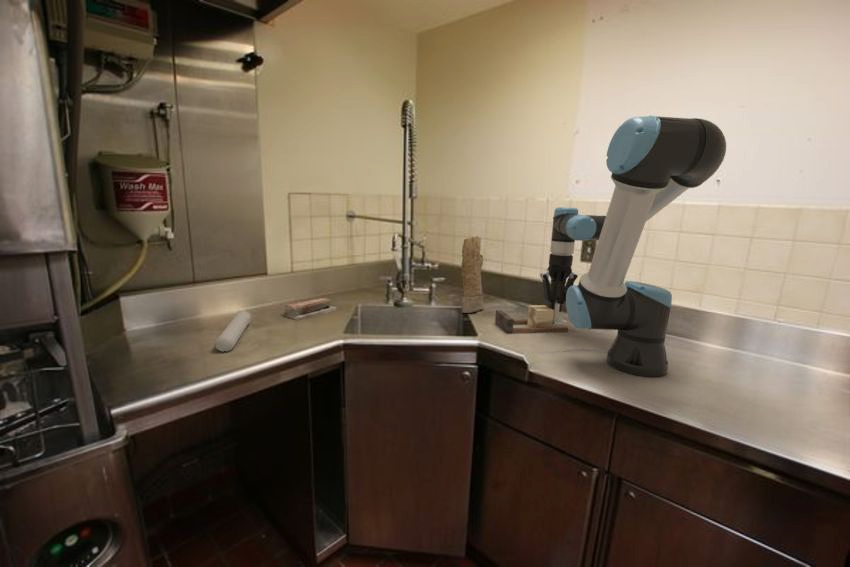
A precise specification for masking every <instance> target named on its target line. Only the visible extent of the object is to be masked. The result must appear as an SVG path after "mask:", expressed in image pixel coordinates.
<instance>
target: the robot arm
mask: <svg viewBox="0 0 850 567" xmlns="http://www.w3.org/2000/svg"><path fill="white" fill-rule="evenodd" d="M726 151H727V141H726V136H725V135H724V133H723V130H721V128H720V127H719V126H718V125H717V124H716V123H713V122H712V121H710V120H707V119H704V118H703V119H702V118H694V117H693V118H688V117H687V118H685V117H673V116H672V117H671V116H655V115H647V116H646V115H645V116H633V117H630V118H628V119H627V120H625V121H624V122H623V123H622V124H620V125H619V126H618V128H617V129H616V130H615V132H614V134H613V135H612V137H611V139H610V142H609V145H608V147H607V151H606V157H607V159H606V161H605V162H606V167H607V170H608V171H610V172H611V174H610V179H611V180H612V182H613V184H614V186H615V187H614V188H613V193H612V197H611V199H610V203H609V204H608V205H609V206H608V209H607V212H606V215H591V214H589V215H588V214H579V208H577V207H568V206H567V207H566V206H565V207H562V206H561V207H560V206H557V207H556V208H555V209H554V213H553V218H552V220H553V221H552V228H551V229H552V231H551V238H550V239H551V240H550V249H549V252H550V254H549V257H548V267H547V269H546V271H545V272H544V273H540V278H541V280H542V287H543V288H542V289H543V293H544V294H543V295H544V300H545V301H547V302H549V306H548V307H549V308H551V309H552V310H554V315H553V322H554V323H558V322H559V314H560V313H561V312H562V307H563V304H565V307H566V313H567V316H568V319H569V321H570V323H571V325H572V326H573V327H574V328H577V329H581V330H583V329H584V330H588V331H590V330H608V331H609V330H611V331H614V330H615V331H617V332H616V336H615V338H614V341H613V342H612V344H611V346H610V348H609V349H608V351H607V354H606V363H608V364H609V366H612V367H613V368H614V369H617V370H618V371H620V372H621V371H622V372H624V373H628V374H632V375H636V376H640V377H641V376H642V377H649V378H650V377H651V378H653V377H654V378H655V377H662V376H665V375H667V373H668V368H669V362H668V360H667V359H668V357H667V352H666V345H665V341H666V336H667V332H668V331H667V330H668V324H669V319H670V313H671V309H672V308H673V307H672V301H673V294H672V292H671V291H670V290H668V289H666V288H663V287H660V286H658V285H657V286H656V285H654V284H653V285H652V284H648V283H645V282H639V281H632V280H627V281H625V279H626V276H627V274H628V271H629V268H630V265H631V263H632V260H633V258H634V255H635V251H636V249H637V246H638V244H639V241H640V238H641V236H642V233H643V230H644V228H645V224H646V223H647V222H648V221H650V219H651V218H653V217H654V216H655V215H656V214H658V213H659V212H660V211H662V210H663V209H664V208H666V207H667V206H668V205H669V204H671V203H672V202H674V201H675V200H676V199H677V198H678V197H680V196H681V195H682V194H683V193H685V192H686V191H687V190H689V189H694V188H697V187H699V186H701V185H702V184H703V183H705V182H707V181H708V179H710V178H711V177H712V176H714V174H715V173H716V172H717V171H718V170H719V168H720V166H721V165H722V163H723V162H724V159H725V157H726V153H727V152H726ZM576 241H577V242H580V241H581V242H584V241H597V245H596V248H595V250H594V253H593V257H592V260H591V263H590V267H589V270H588V272H586V273H584V274H582V275H581V276H580V278H579V282H578V284H577V285H576V284H575V282H576V280H577V279H578V277H579V276H578V275H577V274H575V273H574V272H573V269H572V266H573V260H574V256H573V254H574V252H575V245H576V244H575V242H576ZM549 279H550V280H549Z"/></svg>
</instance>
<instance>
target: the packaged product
mask: <svg viewBox="0 0 850 567" xmlns="http://www.w3.org/2000/svg"><path fill="white" fill-rule="evenodd" d="M331 302H332V301H331V299H329V298H324V297H323V298H320V297H319V298H314V299H310V300H305V301H304V300H303V301H300V302H296V303H295V302H294V303H290V304H286V305H285V308H284V310H283V311H284V312H280V315H281V316H284V317H286V318H290V319H292V320H296V321H301V320H305V319H308V318H314V317H318V316H321V315H325V314H328V313H332V312H336V311H337V310H338V307H337V306H332V305H331Z"/></svg>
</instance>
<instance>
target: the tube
mask: <svg viewBox="0 0 850 567" xmlns="http://www.w3.org/2000/svg"><path fill="white" fill-rule="evenodd" d="M251 321H252V314H251V313H250V312H248V311H247V310H238V311H237V312H236V314H235V315H234V316H233V318H232V320H231V321H230V322H229V323H228V325H227V326H226V327H225V329H224V330H223V331H222V332H221V333H220V335H219V337H217V339H216V340H215V349H217V350H218V351H220V352H222V353H225V352H231V351H232V349H233V348H234V347H235V345H236V344H237V342H238V340H239V339H240V337H241V336H242V334H243V333H244V332H245V330H246V328H247V327H248V326H249V324H250V322H251ZM230 350H231V351H230ZM224 351H225V352H224Z"/></svg>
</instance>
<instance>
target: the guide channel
mask: <svg viewBox="0 0 850 567" xmlns="http://www.w3.org/2000/svg"><path fill="white" fill-rule="evenodd" d="M494 320H495V322H494V324H495V325H496V326H497V327H498V328H499V329H500V330H502V331H503V332H504V333H505V334H507V335H508V334H538V333H539V334H541V333H546V334H548V333H568V331H569V327H568V326H552V327H514V325H527V322H528V318H526V319H525V318H524V319H523V318H522V319H520V318H519V319H514V318H512V316H511V315H508V313H506V312H505V311H503V310H501V309H500V310H498V309H497V310H496V311H495V319H494ZM553 324H555V322H553ZM553 324H552V325H553Z"/></svg>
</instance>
